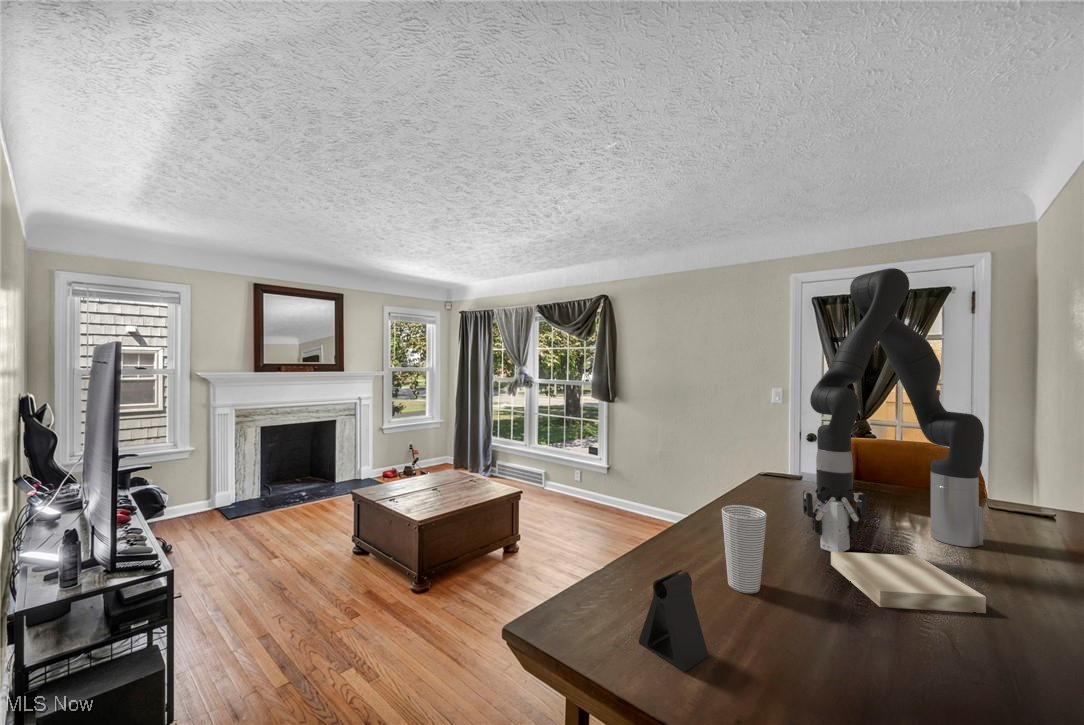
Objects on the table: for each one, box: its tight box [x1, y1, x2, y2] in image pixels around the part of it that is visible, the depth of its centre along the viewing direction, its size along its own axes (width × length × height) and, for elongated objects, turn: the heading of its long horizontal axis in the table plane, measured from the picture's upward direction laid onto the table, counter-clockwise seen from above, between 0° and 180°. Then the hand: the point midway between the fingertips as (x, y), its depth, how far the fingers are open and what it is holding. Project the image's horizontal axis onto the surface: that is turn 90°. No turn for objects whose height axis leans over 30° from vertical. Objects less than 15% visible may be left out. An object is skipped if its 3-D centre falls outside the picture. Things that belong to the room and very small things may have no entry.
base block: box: [830, 551, 987, 614], centre depth 93 cm, size 18×18×3 cm
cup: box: [721, 504, 767, 594], centre depth 93 cm, size 8×8×16 cm
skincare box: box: [819, 500, 851, 553], centre depth 112 cm, size 6×4×12 cm
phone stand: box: [638, 568, 709, 673], centre depth 72 cm, size 9×6×12 cm, turn 36°
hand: (834, 534), depth 112 cm, fingers closed on skincare box, 7 cm apart
